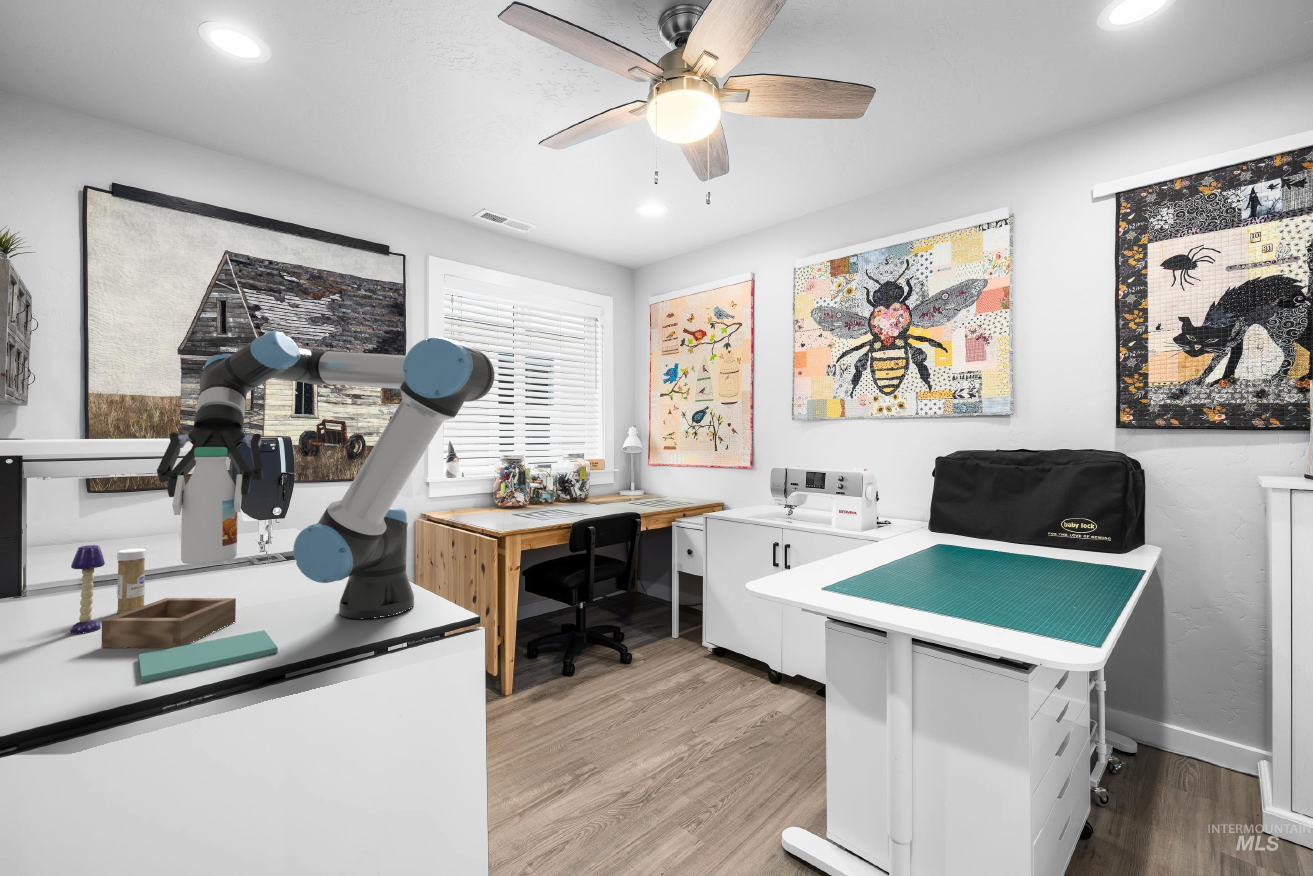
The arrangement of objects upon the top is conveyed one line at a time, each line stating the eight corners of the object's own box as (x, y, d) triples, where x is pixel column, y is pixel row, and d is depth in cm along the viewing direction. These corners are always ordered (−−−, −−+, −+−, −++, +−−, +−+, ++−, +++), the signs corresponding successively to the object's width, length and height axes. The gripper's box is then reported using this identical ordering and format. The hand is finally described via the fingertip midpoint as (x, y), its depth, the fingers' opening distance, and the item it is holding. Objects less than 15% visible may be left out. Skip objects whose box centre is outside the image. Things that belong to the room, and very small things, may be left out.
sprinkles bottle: (140, 613, 121) (140, 551, 121) (112, 615, 119) (113, 552, 119) (148, 607, 125) (149, 547, 125) (122, 609, 123) (122, 548, 123)
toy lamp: (107, 625, 113) (108, 543, 113) (98, 632, 109) (99, 547, 109) (75, 628, 111) (76, 545, 111) (64, 636, 107) (65, 549, 107)
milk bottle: (205, 566, 94) (207, 448, 94) (168, 563, 95) (170, 446, 95) (247, 557, 101) (249, 447, 101) (213, 554, 103) (214, 446, 103)
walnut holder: (235, 622, 116) (235, 598, 116) (181, 647, 102) (181, 620, 102) (165, 622, 115) (166, 598, 115) (101, 647, 101) (101, 620, 101)
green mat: (264, 635, 109) (264, 630, 109) (277, 653, 100) (277, 647, 100) (138, 660, 96) (138, 654, 96) (141, 682, 88) (141, 676, 88)
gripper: (283, 430, 117) (279, 518, 103) (154, 428, 106) (131, 526, 92) (282, 404, 112) (278, 492, 99) (148, 399, 101) (122, 497, 88)
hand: (207, 508), depth 95 cm, fingers closed on milk bottle, 7 cm apart
